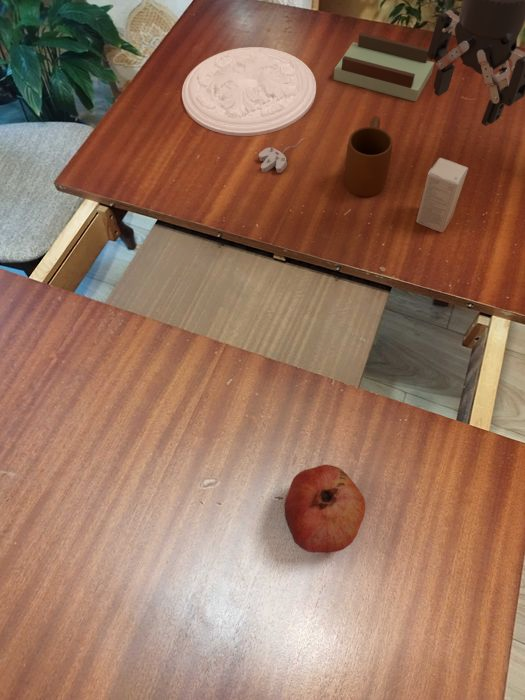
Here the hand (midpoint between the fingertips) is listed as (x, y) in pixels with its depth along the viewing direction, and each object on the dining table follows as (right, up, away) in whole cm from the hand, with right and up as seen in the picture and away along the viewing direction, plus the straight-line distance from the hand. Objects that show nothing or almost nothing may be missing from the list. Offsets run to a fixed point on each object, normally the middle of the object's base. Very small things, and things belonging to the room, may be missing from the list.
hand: (463, 107), depth 76 cm
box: (+2, -11, +19) cm, 22 cm away
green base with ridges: (-3, +24, +38) cm, 45 cm away
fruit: (-20, -56, -5) cm, 59 cm away
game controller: (-24, +3, +28) cm, 37 cm away
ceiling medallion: (-31, +20, +38) cm, 53 cm away
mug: (-9, -2, +25) cm, 26 cm away
